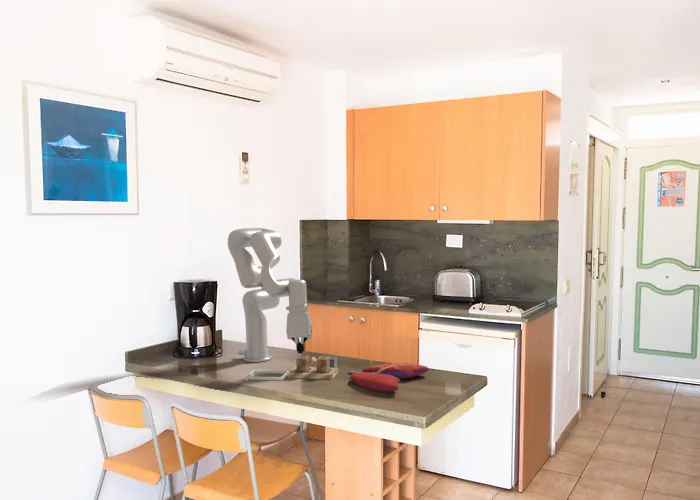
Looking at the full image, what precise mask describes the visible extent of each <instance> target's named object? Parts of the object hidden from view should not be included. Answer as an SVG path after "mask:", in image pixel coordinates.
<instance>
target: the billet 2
mask: <svg viewBox="0 0 700 500" xmlns="http://www.w3.org/2000/svg"><path fill="white" fill-rule="evenodd" d="M316 359H317V364H316V367H317V373H322V374H328V373H329V372H330V355H319V356H318V358H316Z"/></svg>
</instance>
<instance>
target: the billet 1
mask: <svg viewBox="0 0 700 500" xmlns="http://www.w3.org/2000/svg"><path fill="white" fill-rule="evenodd" d="M310 357H311V356H310V354H309V355H307V354H305V355H302V354H301V355H299V356H298V357H296V359H295V360H296V361H295V362H296V365H295V367H296V368H297V373H308V372H309V371H310V367H311V358H310Z"/></svg>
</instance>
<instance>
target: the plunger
mask: <svg viewBox="0 0 700 500" xmlns="http://www.w3.org/2000/svg"><path fill="white" fill-rule="evenodd" d="M315 365H317V358H316V356H312V357H311V358H310V367H315Z"/></svg>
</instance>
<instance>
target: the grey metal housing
mask: <svg viewBox="0 0 700 500" xmlns="http://www.w3.org/2000/svg"><path fill="white" fill-rule="evenodd" d="M329 356H330V355H329ZM330 368H338V356H335V355H334V356H332V355H331V356H330Z"/></svg>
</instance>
